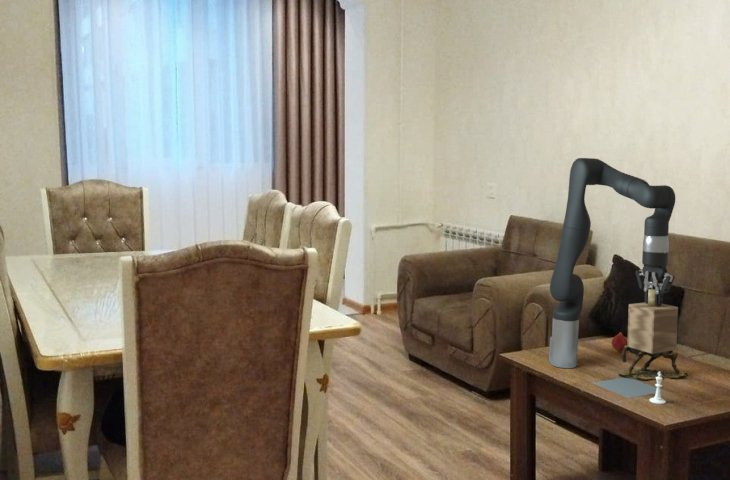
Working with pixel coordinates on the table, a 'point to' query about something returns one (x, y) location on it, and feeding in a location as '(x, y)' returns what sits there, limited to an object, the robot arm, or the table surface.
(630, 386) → the mat
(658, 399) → the chess piece
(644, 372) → the figurine
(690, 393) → the table surface
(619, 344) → the onion
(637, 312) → the cover
